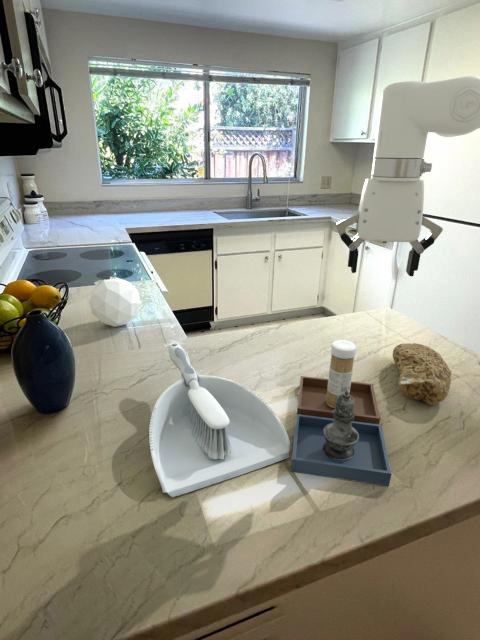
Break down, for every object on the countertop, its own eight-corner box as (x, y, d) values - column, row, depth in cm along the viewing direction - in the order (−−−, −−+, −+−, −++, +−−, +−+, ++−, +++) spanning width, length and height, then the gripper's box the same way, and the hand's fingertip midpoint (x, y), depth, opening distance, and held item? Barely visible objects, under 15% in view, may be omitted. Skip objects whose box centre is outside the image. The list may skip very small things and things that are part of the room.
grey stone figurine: (317, 439, 71) (324, 381, 67) (349, 438, 72) (358, 380, 67) (326, 463, 66) (334, 401, 61) (361, 461, 66) (371, 400, 62)
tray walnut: (371, 393, 86) (373, 383, 85) (378, 429, 75) (380, 418, 74) (299, 385, 89) (300, 375, 88) (296, 419, 77) (297, 408, 77)
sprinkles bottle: (342, 396, 84) (350, 338, 79) (351, 409, 80) (360, 349, 75) (321, 398, 83) (328, 340, 78) (330, 411, 79) (337, 350, 74)
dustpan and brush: (163, 502, 59) (158, 451, 55) (121, 389, 86) (116, 350, 83) (296, 456, 68) (300, 409, 64) (220, 367, 95) (220, 331, 92)
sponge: (449, 416, 81) (455, 357, 95) (448, 386, 77) (455, 330, 92) (381, 407, 88) (396, 353, 102) (378, 379, 84) (394, 327, 98)
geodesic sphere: (77, 318, 106) (106, 273, 105) (74, 301, 118) (100, 260, 117) (126, 342, 114) (154, 300, 113) (119, 323, 126) (144, 286, 125)
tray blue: (379, 435, 73) (381, 424, 72) (389, 486, 62) (391, 473, 61) (295, 424, 76) (296, 413, 75) (290, 471, 65) (291, 459, 64)
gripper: (446, 170, 67) (427, 269, 74) (340, 168, 70) (331, 264, 77) (460, 172, 60) (438, 281, 67) (342, 170, 63) (331, 275, 70)
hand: (381, 272), depth 72 cm, fingers open, 9 cm apart
